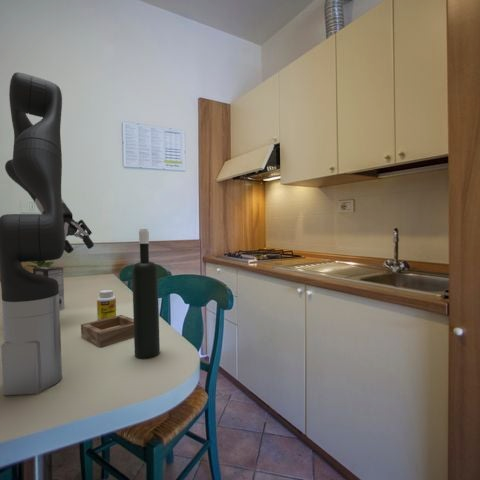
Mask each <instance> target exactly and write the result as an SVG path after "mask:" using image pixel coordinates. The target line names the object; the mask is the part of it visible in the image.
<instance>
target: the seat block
mask: <svg viewBox="0 0 480 480" xmlns="http://www.w3.org/2000/svg"><path fill="white" fill-rule="evenodd" d="M80 334H81V335H80V336H81V338H83V339H85V340H87V341H88V342H90V343H92V344H94V345H96V346H98V347H100V348H102V347H107V346H109V345H112V344H115V343H119V342H122V341H125V340H129V339H134V318H131V317H129V316H127V315H126V316H125V315H122V314H119V315H116V316H115V317H110V318H106V319H102V320H98V319H97V320H95V321H91V322H85V323H81V324H80Z"/></svg>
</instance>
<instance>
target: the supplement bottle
mask: <svg viewBox="0 0 480 480" xmlns="http://www.w3.org/2000/svg"><path fill="white" fill-rule="evenodd" d="M96 310H97V314H96V315H97V321H98V320H102V319H106V318H110V317H115V316H117V299H116V296H115V295H114V290H111V289H104V290H100V291H99V296H98V297H97V298H96Z"/></svg>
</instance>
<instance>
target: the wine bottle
mask: <svg viewBox="0 0 480 480" xmlns="http://www.w3.org/2000/svg"><path fill="white" fill-rule="evenodd" d="M148 230H149V229H148V228H140V229H139V231H138V241H139V262H137V263H135V264H134V265H132V268H131V274H132V275H131V279H132V308H133V319H134V337H133V339H134V341H133V342H134V346H133V347H134V357H135V358H137V359H140V360H144V359H145V360H147V359H152V358H154V357H157V356H158V355H160V352H161V351H160V348H161V347H160V316H159V315H160V313H159V311H160V310H159V281H158V279H159V278H158V276H159V275H158V274H159V273H158V265H157V264H155V263H154V262H153V261H150V255H149V254H150V253H149V252H150V249H149V245H150V240H149V239H150V235H149V234H150V233H149V231H148Z"/></svg>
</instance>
